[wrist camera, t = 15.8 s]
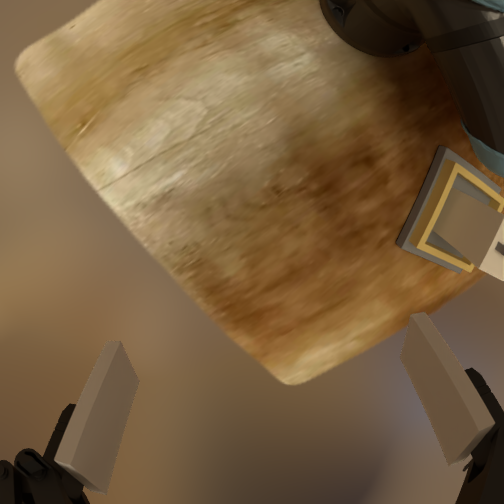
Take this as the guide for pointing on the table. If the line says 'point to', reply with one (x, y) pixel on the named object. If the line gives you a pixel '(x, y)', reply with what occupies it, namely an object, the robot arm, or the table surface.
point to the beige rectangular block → (473, 231)
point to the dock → (431, 203)
